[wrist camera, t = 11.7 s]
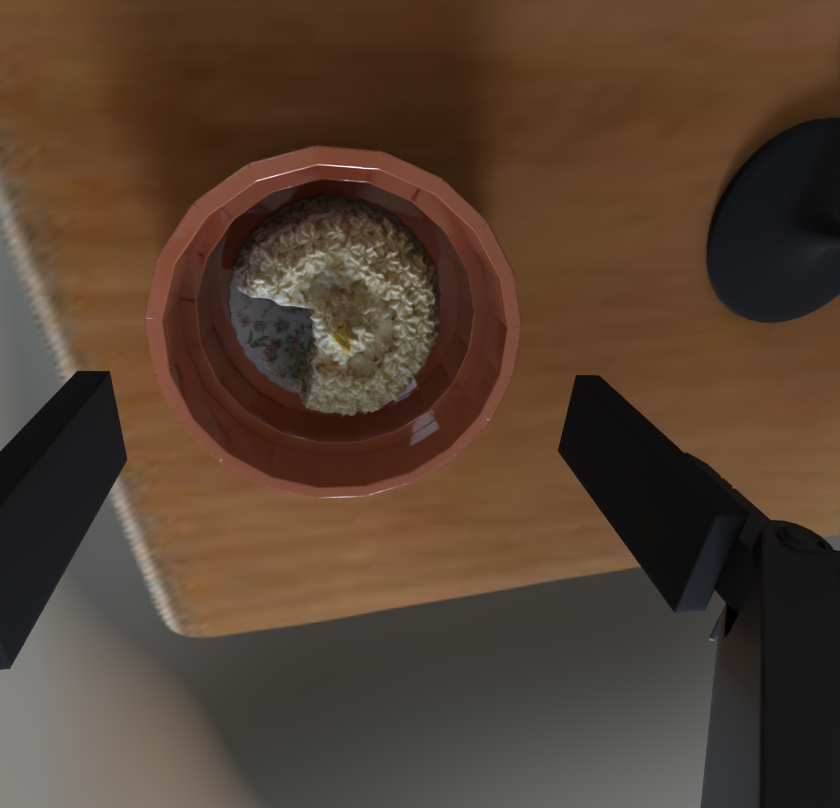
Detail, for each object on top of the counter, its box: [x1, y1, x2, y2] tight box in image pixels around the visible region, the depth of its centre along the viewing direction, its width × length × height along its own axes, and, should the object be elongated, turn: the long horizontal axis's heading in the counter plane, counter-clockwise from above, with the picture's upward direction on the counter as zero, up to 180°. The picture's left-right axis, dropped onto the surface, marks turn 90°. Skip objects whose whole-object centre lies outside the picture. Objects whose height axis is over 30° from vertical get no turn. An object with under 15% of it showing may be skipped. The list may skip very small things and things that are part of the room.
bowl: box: [145, 142, 521, 498], centre depth 23 cm, size 14×14×6 cm
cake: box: [228, 195, 441, 417], centre depth 23 cm, size 10×10×5 cm
